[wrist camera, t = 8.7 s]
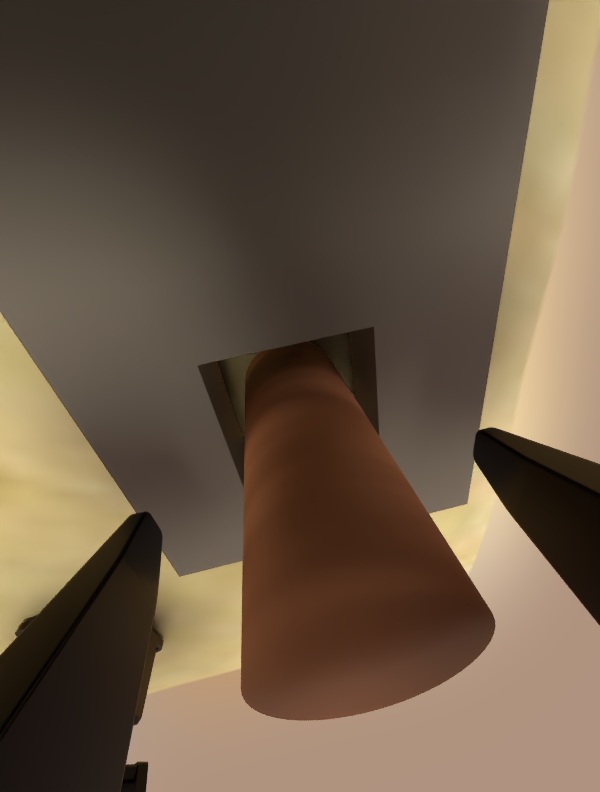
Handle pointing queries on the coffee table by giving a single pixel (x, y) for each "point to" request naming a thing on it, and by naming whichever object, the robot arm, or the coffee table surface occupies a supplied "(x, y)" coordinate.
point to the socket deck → (259, 223)
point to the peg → (339, 556)
